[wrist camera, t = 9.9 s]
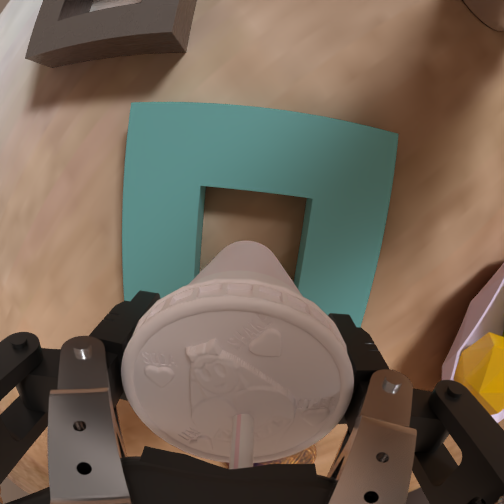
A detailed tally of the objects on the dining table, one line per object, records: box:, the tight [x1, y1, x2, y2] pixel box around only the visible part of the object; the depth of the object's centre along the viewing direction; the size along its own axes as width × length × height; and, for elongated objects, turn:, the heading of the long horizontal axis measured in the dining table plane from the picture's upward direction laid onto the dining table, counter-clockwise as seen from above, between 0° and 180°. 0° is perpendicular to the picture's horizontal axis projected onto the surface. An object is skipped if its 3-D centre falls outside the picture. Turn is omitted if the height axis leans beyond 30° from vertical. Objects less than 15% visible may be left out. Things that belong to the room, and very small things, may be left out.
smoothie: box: [121, 241, 354, 469], centre depth 10 cm, size 6×6×14 cm
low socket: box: [122, 102, 399, 327], centre depth 23 cm, size 20×20×2 cm
